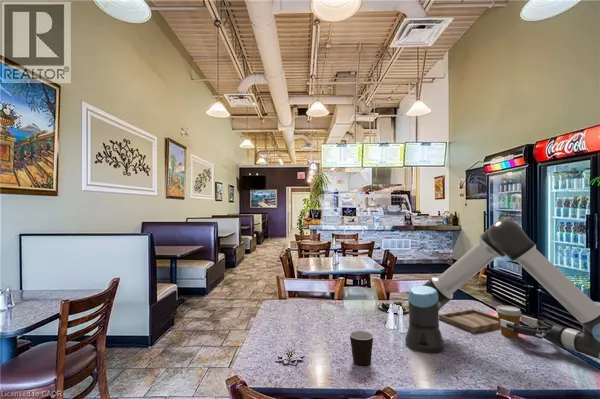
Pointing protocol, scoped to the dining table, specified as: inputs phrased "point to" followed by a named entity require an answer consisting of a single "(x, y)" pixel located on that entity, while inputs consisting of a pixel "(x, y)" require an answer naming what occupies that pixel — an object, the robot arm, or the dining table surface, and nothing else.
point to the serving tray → (471, 320)
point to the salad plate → (386, 306)
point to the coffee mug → (361, 347)
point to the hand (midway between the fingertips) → (511, 320)
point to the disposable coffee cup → (508, 319)
